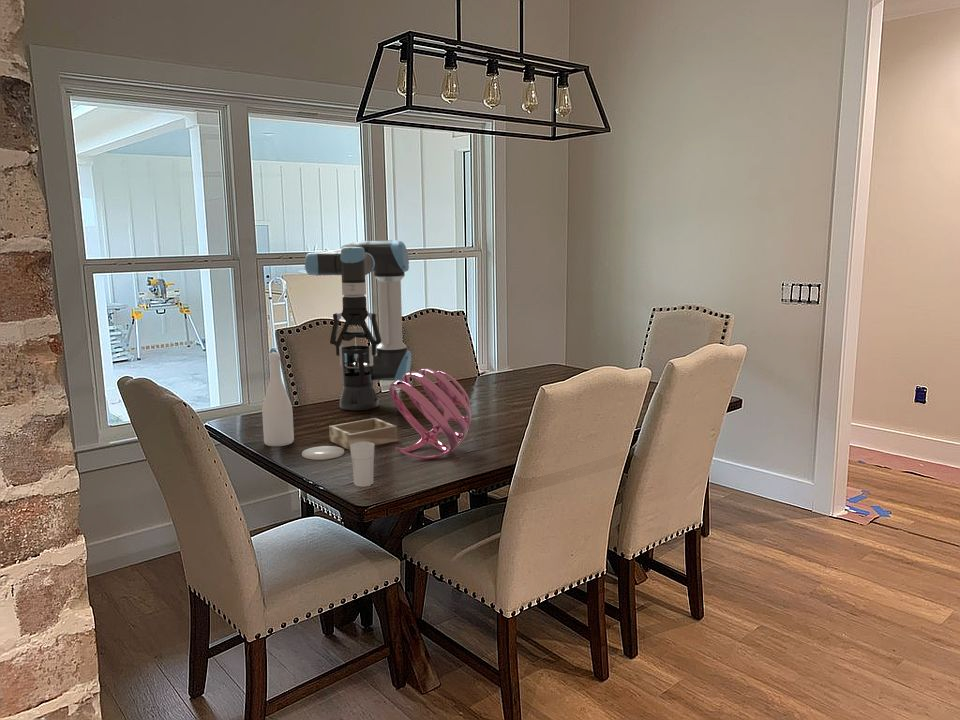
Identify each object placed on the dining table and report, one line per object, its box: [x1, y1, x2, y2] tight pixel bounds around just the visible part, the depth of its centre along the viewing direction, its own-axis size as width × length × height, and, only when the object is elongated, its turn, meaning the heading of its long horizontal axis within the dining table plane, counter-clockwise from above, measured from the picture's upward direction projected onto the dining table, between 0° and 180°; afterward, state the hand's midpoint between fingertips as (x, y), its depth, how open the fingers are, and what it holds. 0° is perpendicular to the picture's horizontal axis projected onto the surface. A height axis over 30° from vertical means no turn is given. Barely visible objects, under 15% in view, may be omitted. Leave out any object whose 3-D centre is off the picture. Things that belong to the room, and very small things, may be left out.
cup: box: [349, 442, 375, 488], centre depth 209 cm, size 7×7×11 cm
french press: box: [340, 314, 372, 387], centre depth 245 cm, size 12×9×23 cm
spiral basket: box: [388, 367, 472, 460], centre depth 235 cm, size 28×28×27 cm
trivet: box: [301, 445, 345, 461], centre depth 238 cm, size 13×13×1 cm
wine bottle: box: [261, 351, 295, 448], centre depth 247 cm, size 10×10×30 cm
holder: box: [328, 417, 398, 451], centre depth 252 cm, size 14×17×5 cm
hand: (356, 365), depth 246 cm, fingers closed on french press, 9 cm apart
